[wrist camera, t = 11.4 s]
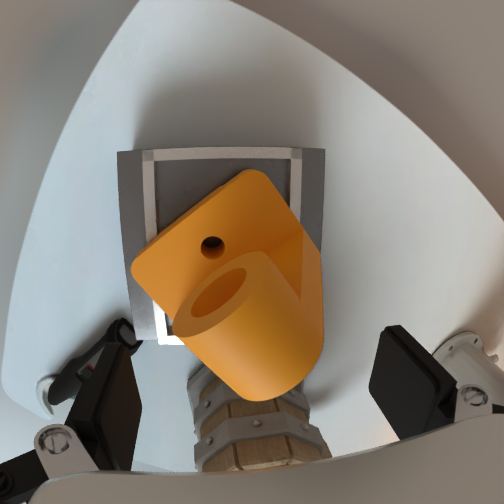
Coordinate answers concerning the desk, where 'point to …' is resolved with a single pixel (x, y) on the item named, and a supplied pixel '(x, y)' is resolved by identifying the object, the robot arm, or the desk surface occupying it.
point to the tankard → (250, 428)
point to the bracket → (241, 287)
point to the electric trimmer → (91, 361)
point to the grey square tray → (192, 192)
